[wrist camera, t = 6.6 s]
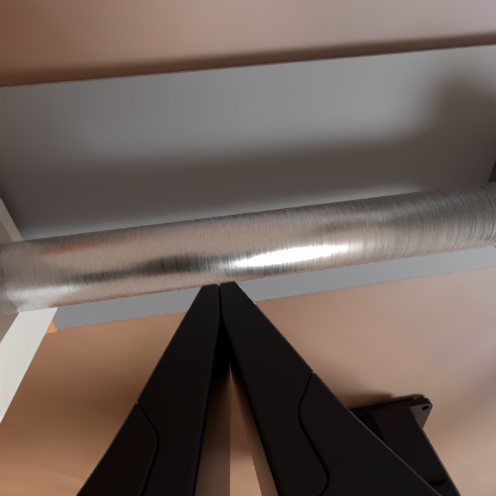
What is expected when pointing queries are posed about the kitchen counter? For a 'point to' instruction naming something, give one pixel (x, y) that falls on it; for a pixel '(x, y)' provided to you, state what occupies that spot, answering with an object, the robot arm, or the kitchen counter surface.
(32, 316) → the collar
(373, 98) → the base board
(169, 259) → the rail
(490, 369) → the kitchen counter surface
